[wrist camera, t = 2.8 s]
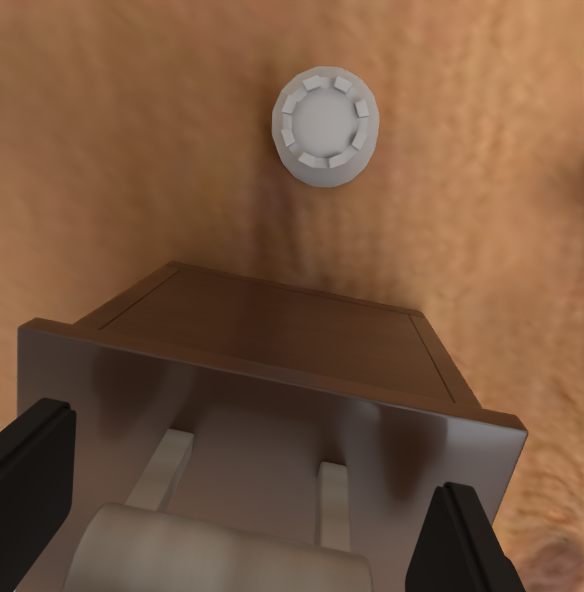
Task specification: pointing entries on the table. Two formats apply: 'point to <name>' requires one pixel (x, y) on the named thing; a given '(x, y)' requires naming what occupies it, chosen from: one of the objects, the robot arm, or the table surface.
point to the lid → (244, 469)
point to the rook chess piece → (325, 126)
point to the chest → (286, 330)
